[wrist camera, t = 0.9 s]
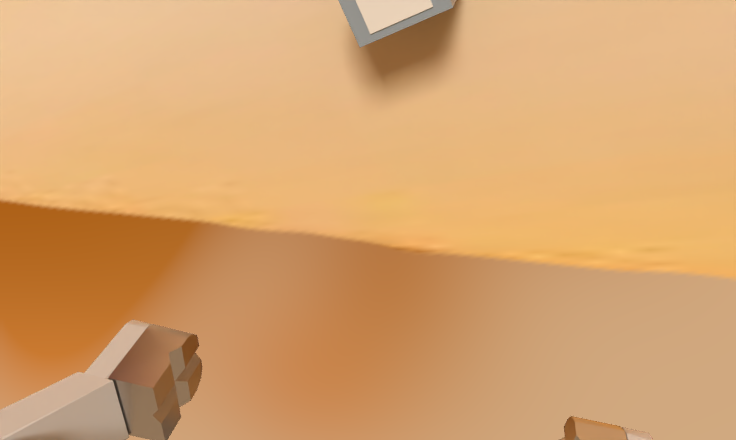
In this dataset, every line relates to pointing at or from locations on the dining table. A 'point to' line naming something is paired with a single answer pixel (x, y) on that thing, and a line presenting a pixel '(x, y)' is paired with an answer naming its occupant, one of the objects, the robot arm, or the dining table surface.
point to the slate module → (388, 16)
